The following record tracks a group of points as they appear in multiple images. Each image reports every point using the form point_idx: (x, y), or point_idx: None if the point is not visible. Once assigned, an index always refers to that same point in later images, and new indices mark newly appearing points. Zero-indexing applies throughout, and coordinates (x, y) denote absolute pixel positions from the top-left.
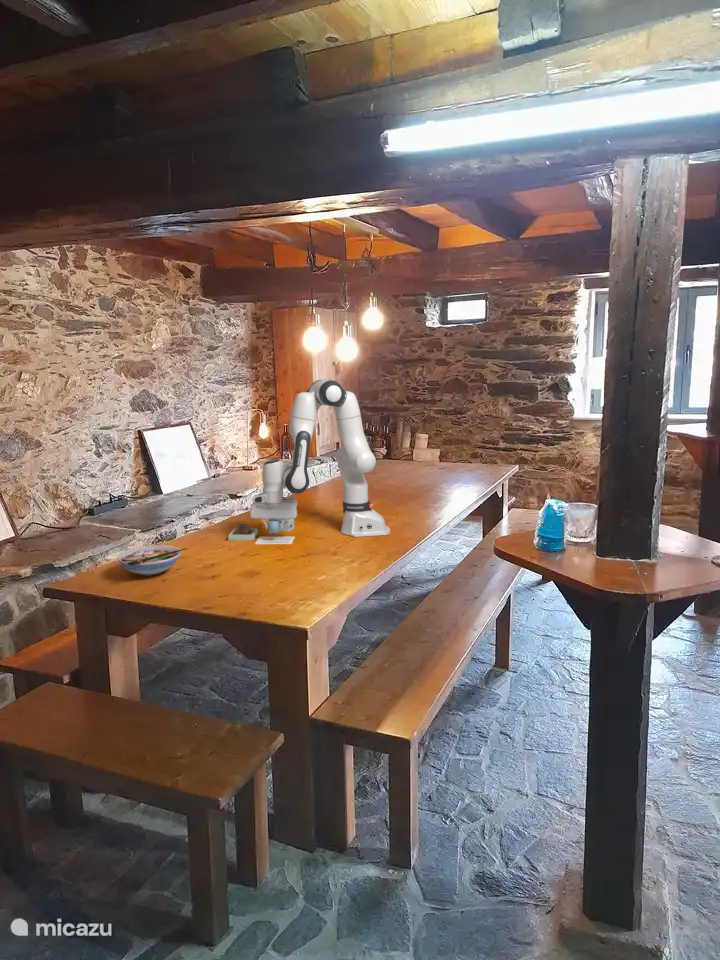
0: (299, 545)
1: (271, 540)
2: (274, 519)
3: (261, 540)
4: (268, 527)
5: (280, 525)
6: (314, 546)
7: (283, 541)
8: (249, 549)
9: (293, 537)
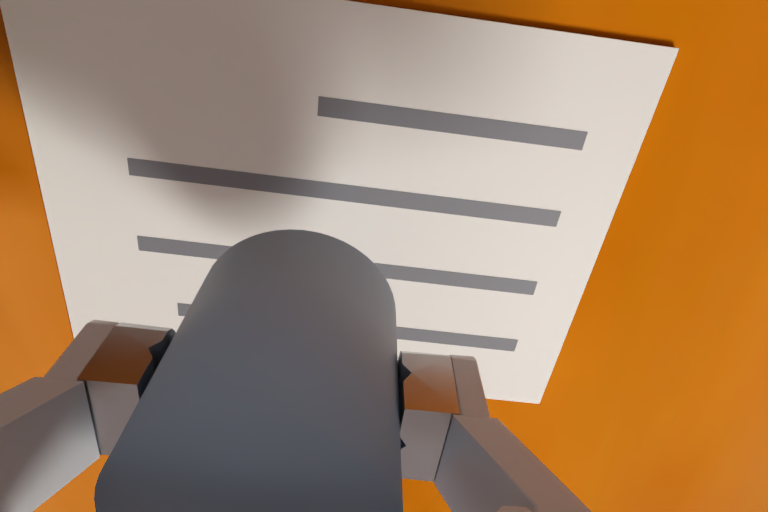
0: (616, 440)
1: None
2: (244, 415)
3: (118, 214)
4: None
5: (430, 467)
6: (759, 483)
7: (447, 304)
8: (92, 484)
9: (631, 116)
